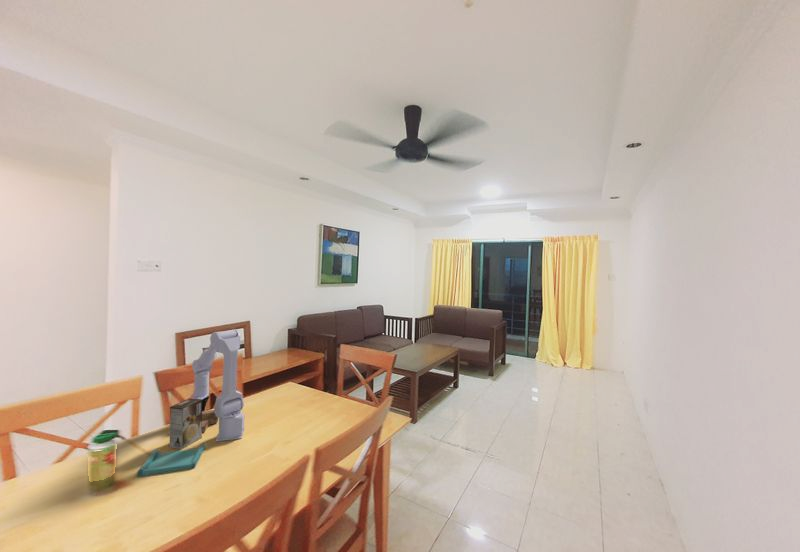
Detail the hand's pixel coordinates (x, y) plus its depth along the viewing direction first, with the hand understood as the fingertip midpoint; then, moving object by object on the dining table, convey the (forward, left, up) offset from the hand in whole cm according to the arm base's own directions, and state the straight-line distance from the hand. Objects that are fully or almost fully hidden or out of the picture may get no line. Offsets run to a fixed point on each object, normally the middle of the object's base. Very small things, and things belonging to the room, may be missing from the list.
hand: (200, 414), depth 142 cm
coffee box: (0, +20, -3) cm, 20 cm away
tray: (0, +32, -2) cm, 32 cm away
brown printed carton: (0, +9, -2) cm, 9 cm away
